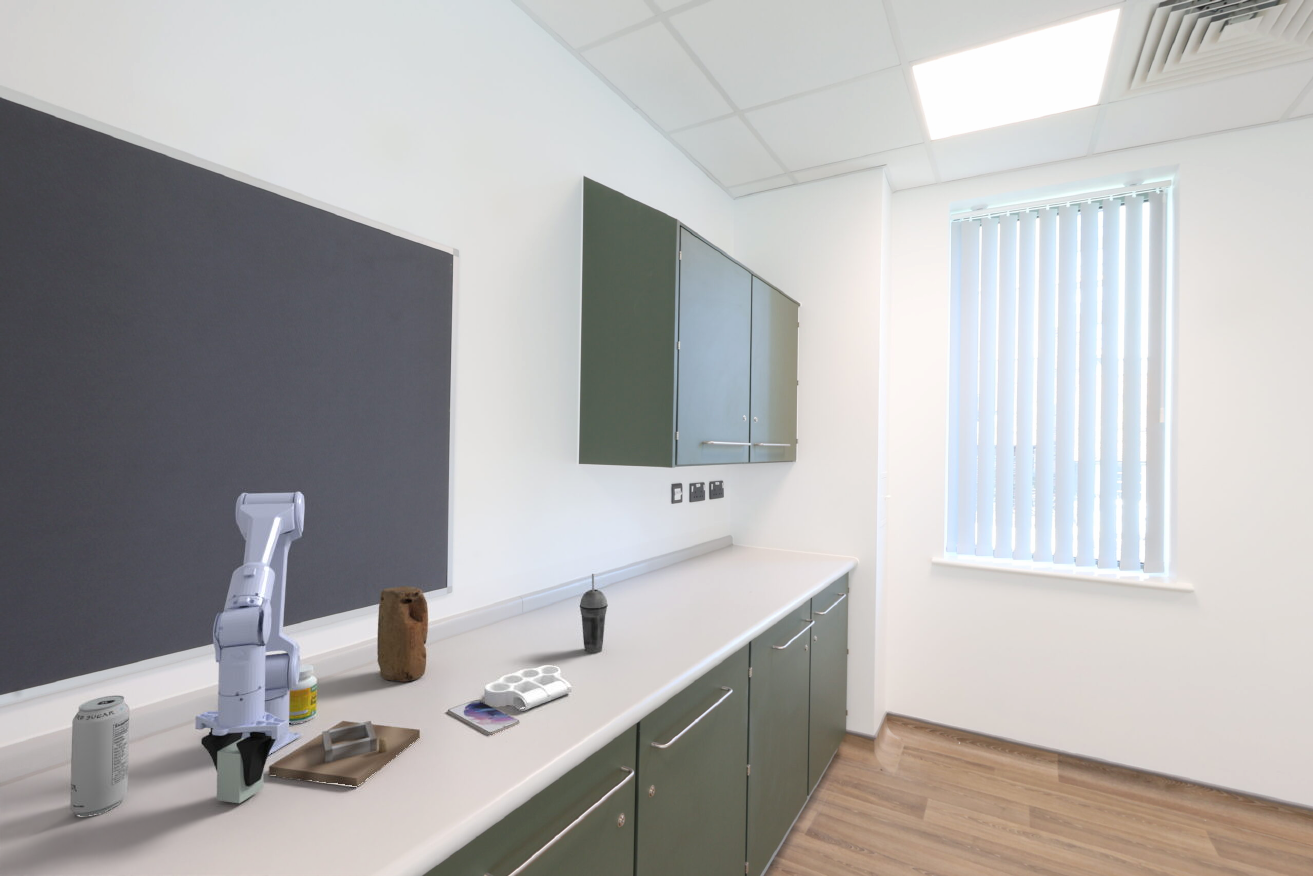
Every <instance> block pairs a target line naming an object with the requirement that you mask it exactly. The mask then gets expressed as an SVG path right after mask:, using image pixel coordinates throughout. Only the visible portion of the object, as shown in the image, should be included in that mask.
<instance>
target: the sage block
mask: <svg viewBox="0 0 1313 876" xmlns="http://www.w3.org/2000/svg"><path fill="white" fill-rule="evenodd" d="M241 740H243V738H242V739H240V740H238V741H236V742H234V743H232V744H231V745H229V746H227V747H225V748H223V749H221V750H219V751H218V752H217V771H216V801H220V802H228V803H235V804H241V803H243V802H244V801H246V800H247V799H248V798H250V797H252V796H253V795H255V794H256V793H258V792H260V791H261V790H262V789H264V771H265V768H264V769H263V773H262V777H261V780H259V781H257V782H256V783H254V784H253V785H251V786H246V785H245V781H244V770H243V761H242V757H241V754H240V752H239V750H238V748H237V746H236V743H238V742H239V741H241Z"/></svg>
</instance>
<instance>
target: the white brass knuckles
mask: <svg viewBox="0 0 1313 876" xmlns="http://www.w3.org/2000/svg"><path fill="white" fill-rule="evenodd" d="M571 692H572V686H571V684H570V683H569V682H568V681H567V680H566V679H564V678H563V677H561V669H560V667H558V666H555V665H551V664H550V665H549V664H548V665H545V664H544V665H541V666H539V667H533V668H524V669H520V670H517V671H516V672H514V673H509V674H508V673H507V674H505V675H503V676H500V677H499V679H497V680H495V681H493V682H490V683H487V684H486V685H485V687H484V695H483V696H484V697H483V698H484V702H485V704H487V705H489V706H495V707H494V708H499V707H498V706H502V707H506V705H511V706H510V707H514V706H515V707H514V708H516V709H517V710H518V709H519V711H520V710H521V712H525V711H527V710H529V709H531V708H534V707H537V706H540V705H543V704H545V703H548V702H549V701H552V700H555V699H557V698H560V697H563V696H567V695H568V694H570V693H571ZM484 702H483V703H484ZM496 706H497V707H496ZM522 707H525V708H524V709H520V708H522Z"/></svg>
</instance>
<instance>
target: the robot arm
mask: <svg viewBox="0 0 1313 876" xmlns="http://www.w3.org/2000/svg"><path fill="white" fill-rule="evenodd" d="M305 509H306V508H305V496H304V494H303V493H302V492H301V491H296V492H264V493H263V492H262V493H259V492H258V493H247V492H242V493H241V494H240V495H239V496H238V498H237V500H236V503H235V520H236V525H237V526H238V528H239V531H240V533H241V535H242V537H243V540H244V541H245V545H244V546H245V547H244V548H245V549H244V556H243V565H241V566H239V567H238V568H236V569H234V571H233V573H232V574H231V575H232V576H231V579H230V583H229V587H228V591H227V595H226V601H225V604H224V608H223V612H218V613H217V614H216V616H215V619H214V623H213V630H212V639H213V647H214V652H215V653H214V655H215V656H214V657H215V662H216V663H218V684H217V687H218V689H217V710H206V711H205V712H202V713H200V714H198V715H196V716H195V726H194V727H195V730H203V729H205V728H206V729H210V731H209V732H208V734H207V735H205V736H203V737H202V738H201V741H200V743H201V746H203V747H204V748H205V750H206V751H207V753H208V754H209V755H210V758H211V760H212V762H213V764H214V768H215V771H216V772H217V752H218V751H219V750H221V749H223V748H225V747H227V746H229V745H231V744H232V743H234V742H236V741H238V740H240V739H242V738H243V740H241V741H239V742H238V743H236V746H237V748H238V750H239V752H240V754H241V757H242V761H243V770H244V781H245V785H246V786H251V785H253V784H254V783H256V782H257V781H259V780H261V777H262V773H263V774H264V772H263V769H264V770H265V765H266V763H267V759H268V757H269V756H270V755H271V753H272V754H273V753H275V752H277V751H278V750H280V749H281V748H283V747H285V746H286V745H288V744H290V743H292V742H293V741H295V740H296V739H298V738H300V737H301V736H302V734H301V733H300V732H295V731H294V732H293V731H290V724H289V698H290V689H293V688H294V687H295V686H296V685H297V684H298V680H299V673H300V666H301V657H300V644H299V643H298V642H297V641H296V640H295V639H292V638H291V637H289V636H288V635H286V634H285V633H284V619H285V618H284V616H285V615H284V613H285V604H286V603H285V601H286V585H287V572H288V571H287V568H288V554H289V550H290V547H291V544H292V542H294V541H296V540H298V539H300V538H302V536H303V535H302V533H303V531H304V525H305V524H304V521H305V520H304V519H305ZM280 651H283V652H282V653H275V654H266V653H269V652H271V653H272V652H280Z"/></svg>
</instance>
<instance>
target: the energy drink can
mask: <svg viewBox="0 0 1313 876" xmlns="http://www.w3.org/2000/svg"><path fill="white" fill-rule="evenodd" d="M71 726H72V727H71V762H70V765H71V766H70V767H71V769H70V801H69V803H70V811H71V812H72V813H75V815H76V814H77V815H80V816H89V815H94V814H99V813H102V814H104V813H103V812H105V811H107V810H110V809H112V808H113V807H115V806H117V805H118V804H119V803H120V802H121V801H122V802H123V799H124V798H126V797H127V794H128V793H129V791H128V790H129V788H128V787H129V785H128V784H129V779H128V778H129V748H130V747H129V746H130V745H129V744H130V743H129V742H130V740H129V739H130V707H129V705H128V704H127V703H126V702H125V697H124V696H123V695H108V696H102V697H97V698H94V699H90V700H88V701H85V702H84V703H81V704H80V705H79V706H78V711H77V713H76V714H75V716H74V717H73V718H72V724H71ZM122 802H121V803H122ZM121 803H120V804H121ZM118 806H119V805H118ZM118 806H117V807H118ZM115 808H116V807H115ZM112 810H113V809H112ZM110 811H111V810H110ZM107 812H108V811H107ZM105 813H106V812H105ZM99 815H100V814H99Z"/></svg>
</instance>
